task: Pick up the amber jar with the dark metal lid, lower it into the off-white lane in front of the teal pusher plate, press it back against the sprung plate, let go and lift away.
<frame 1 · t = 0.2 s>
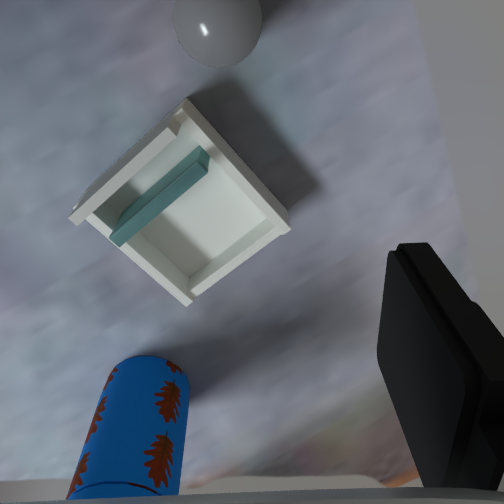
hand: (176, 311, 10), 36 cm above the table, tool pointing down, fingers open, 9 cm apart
thermos: (149, 385, 61), on the table
pusher plate: (161, 194, 43), point 4 cm above the table, slide at 0.0 cm
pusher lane: (188, 200, 48), on the table
amber jar: (221, 13, 40), on the table
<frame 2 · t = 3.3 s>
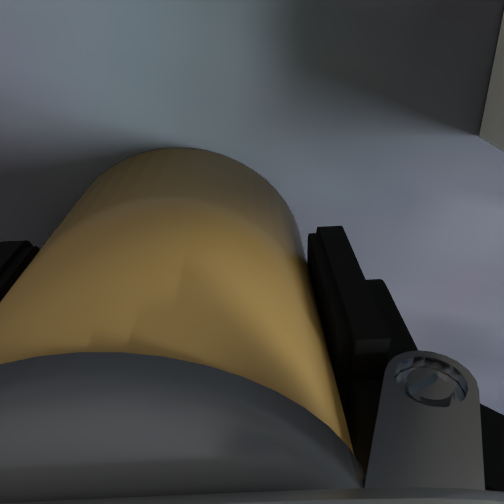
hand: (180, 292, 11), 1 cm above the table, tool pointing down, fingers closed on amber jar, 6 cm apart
amber jar: (186, 261, 12), on the table, touching gripper
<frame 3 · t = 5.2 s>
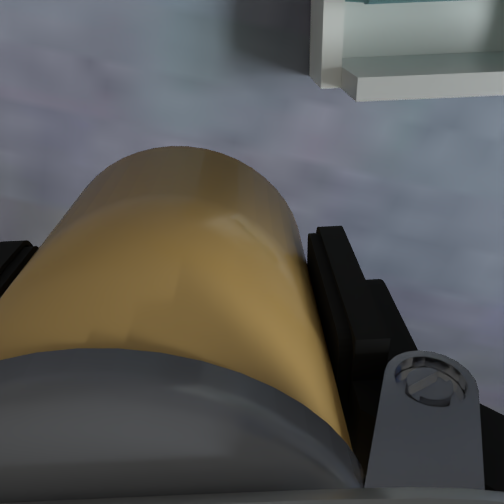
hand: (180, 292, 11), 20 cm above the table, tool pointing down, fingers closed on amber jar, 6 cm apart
amber jar: (185, 260, 12), point 18 cm above the table, touching gripper
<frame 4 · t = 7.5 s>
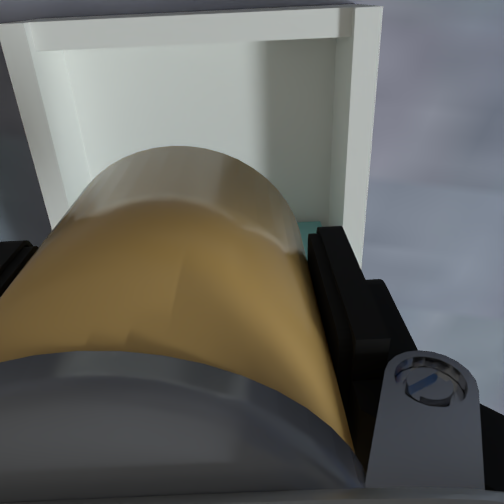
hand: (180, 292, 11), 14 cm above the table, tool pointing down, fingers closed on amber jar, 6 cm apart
pusher plate: (213, 263, 22), point 4 cm above the table, slide at 0.0 cm
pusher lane: (212, 173, 24), on the table
amber jar: (186, 260, 12), point 13 cm above the table, touching gripper
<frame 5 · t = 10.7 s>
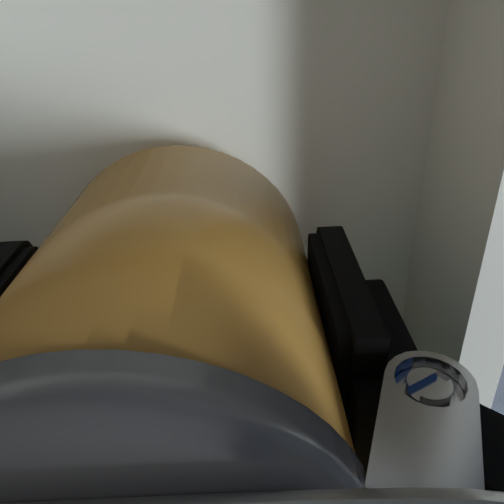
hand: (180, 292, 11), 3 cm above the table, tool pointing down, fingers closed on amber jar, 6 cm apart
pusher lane: (188, 184, 13), on the table
amber jar: (186, 259, 12), point 1 cm above the table, touching gripper, pusher plate
when the fingers open (3 cm above the table, at t = 11.7 s): amber jar stays where it is, resting on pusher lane.
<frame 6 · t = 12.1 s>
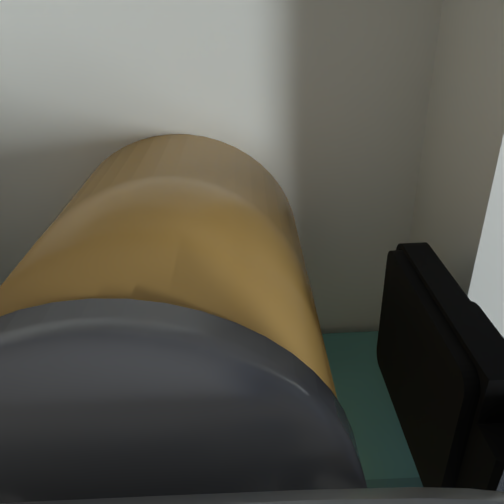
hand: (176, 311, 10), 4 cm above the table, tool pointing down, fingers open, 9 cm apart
pusher plate: (192, 430, 12), point 4 cm above the table, slide at 1.9 cm
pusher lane: (186, 185, 13), on the table
amber jar: (186, 244, 13), point 1 cm above the table, touching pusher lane
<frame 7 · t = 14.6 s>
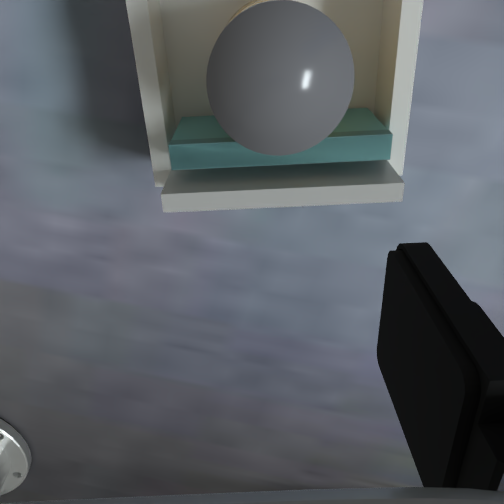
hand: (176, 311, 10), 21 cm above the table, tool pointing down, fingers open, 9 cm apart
pusher plate: (277, 136, 26), point 4 cm above the table, slide at 1.9 cm, touching amber jar
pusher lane: (271, 28, 27), on the table
amber jar: (271, 56, 27), point 1 cm above the table, touching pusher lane, pusher plate
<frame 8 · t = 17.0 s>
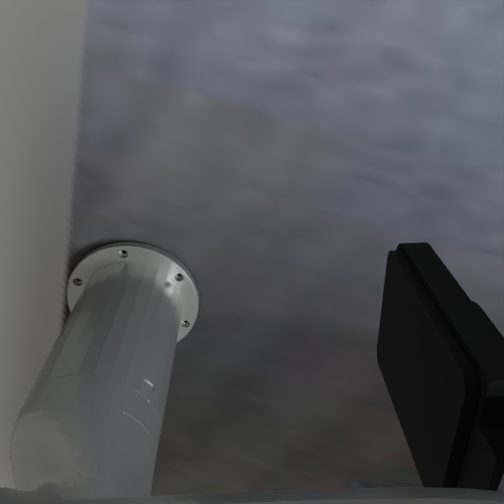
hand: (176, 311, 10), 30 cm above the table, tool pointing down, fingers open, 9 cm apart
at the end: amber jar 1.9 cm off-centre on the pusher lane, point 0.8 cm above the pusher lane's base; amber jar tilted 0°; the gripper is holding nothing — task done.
